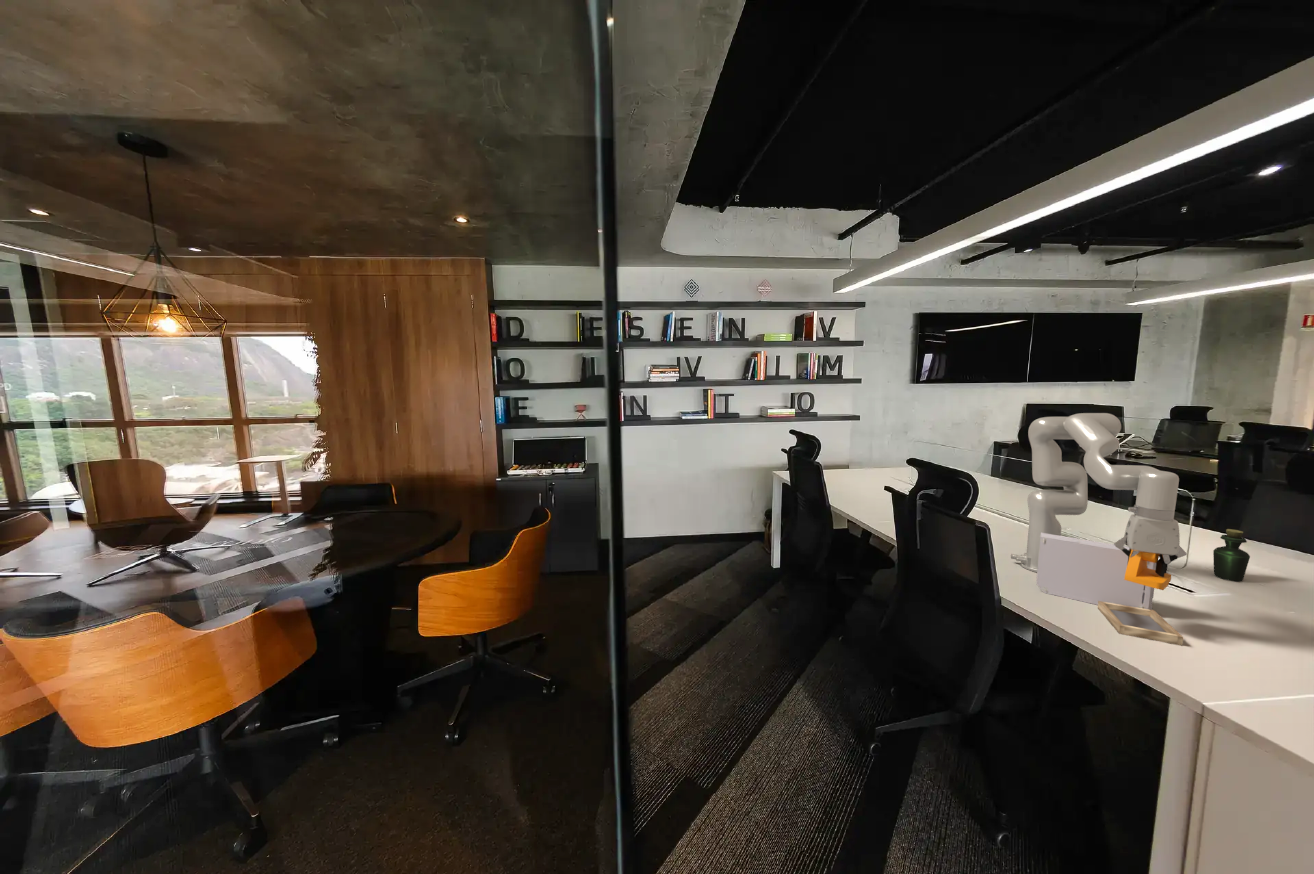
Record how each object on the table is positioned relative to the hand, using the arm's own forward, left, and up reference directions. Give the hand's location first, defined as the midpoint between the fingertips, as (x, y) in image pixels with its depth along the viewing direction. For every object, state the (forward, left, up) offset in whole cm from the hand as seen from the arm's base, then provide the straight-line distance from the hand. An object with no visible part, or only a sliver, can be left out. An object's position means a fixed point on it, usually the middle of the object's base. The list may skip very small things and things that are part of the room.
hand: (1146, 572), depth 128 cm
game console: (-7, +14, -17) cm, 23 cm away
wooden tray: (-1, 0, -17) cm, 17 cm away
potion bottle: (+42, +60, -17) cm, 75 cm away
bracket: (+1, 0, -3) cm, 3 cm away
